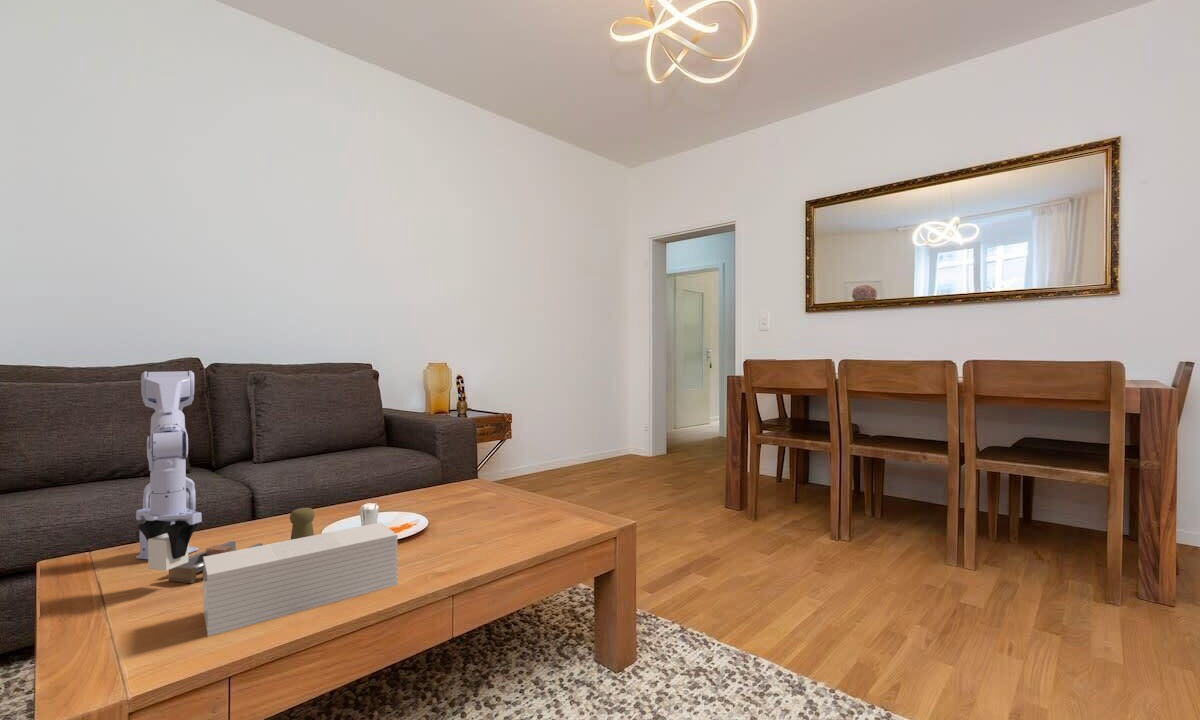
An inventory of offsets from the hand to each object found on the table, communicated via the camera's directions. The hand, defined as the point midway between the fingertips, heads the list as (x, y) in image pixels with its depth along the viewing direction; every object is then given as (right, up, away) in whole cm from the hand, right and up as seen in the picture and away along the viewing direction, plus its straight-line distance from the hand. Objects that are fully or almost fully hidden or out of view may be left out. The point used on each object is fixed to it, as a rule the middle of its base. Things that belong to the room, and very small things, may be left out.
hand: (169, 556), depth 111 cm
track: (+3, -6, +11) cm, 13 cm away
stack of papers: (+31, -7, -5) cm, 32 cm away
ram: (+2, -6, +7) cm, 10 cm away
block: (0, -2, 0) cm, 2 cm away
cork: (+17, -7, +18) cm, 26 cm away
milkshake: (+29, -6, +29) cm, 41 cm away
